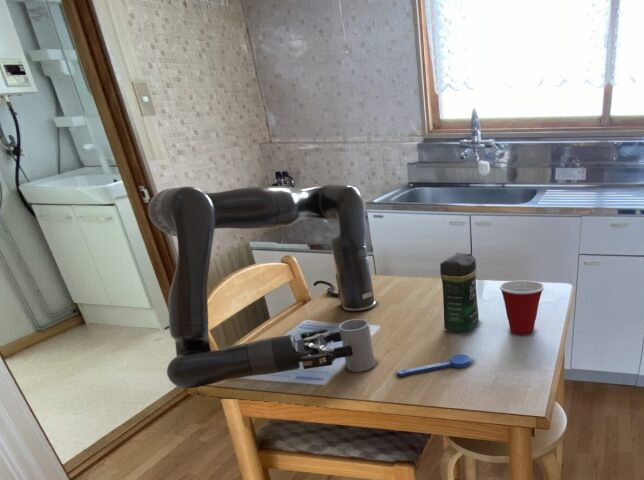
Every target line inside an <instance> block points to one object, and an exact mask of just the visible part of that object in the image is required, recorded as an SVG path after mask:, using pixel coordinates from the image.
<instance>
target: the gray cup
mask: <svg viewBox="0 0 644 480" xmlns="http://www.w3.org/2000/svg"><path fill="white" fill-rule="evenodd" d="M338 331H339V332H340V337H341V341H340V343H341V347H343V346H351V348H352V353H353V355H352V356H348V357H344V361H345V365H346V368H347V370H348V371H350V372H355V373H359V372H365V371H368V370H371V369H372V368H373V367H375V365H376V357H375V352H374V351H375V350H374V345H373V340H372V333H371V329H370V322H369V321H368V320H366V319H363V318H352V319H348V320H345V321H343V322H341V323H340V324H339V325H338Z"/></svg>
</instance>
